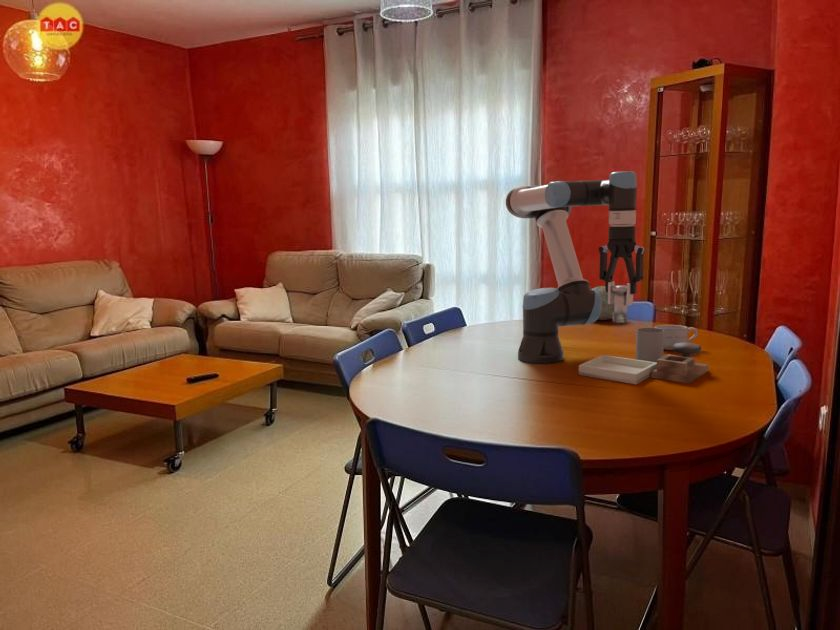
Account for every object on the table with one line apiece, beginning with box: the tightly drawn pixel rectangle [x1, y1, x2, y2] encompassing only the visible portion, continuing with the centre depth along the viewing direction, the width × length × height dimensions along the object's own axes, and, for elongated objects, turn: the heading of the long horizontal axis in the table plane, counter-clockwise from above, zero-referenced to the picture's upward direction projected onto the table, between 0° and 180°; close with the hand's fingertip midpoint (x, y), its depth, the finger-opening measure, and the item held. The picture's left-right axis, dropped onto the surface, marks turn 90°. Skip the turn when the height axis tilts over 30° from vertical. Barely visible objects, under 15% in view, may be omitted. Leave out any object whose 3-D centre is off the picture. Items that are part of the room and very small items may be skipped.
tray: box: [578, 354, 657, 385], centre depth 193 cm, size 18×16×3 cm
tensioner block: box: [650, 342, 709, 384], centre depth 190 cm, size 11×17×8 cm, turn 138°
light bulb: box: [611, 284, 628, 324], centre depth 189 cm, size 5×5×10 cm
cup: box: [635, 327, 665, 362], centre depth 207 cm, size 8×8×10 cm
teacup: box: [654, 324, 698, 351], centre depth 221 cm, size 14×11×8 cm
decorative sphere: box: [592, 285, 613, 321], centre depth 276 cm, size 15×15×15 cm
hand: (620, 304), depth 189 cm, fingers closed on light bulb, 5 cm apart
